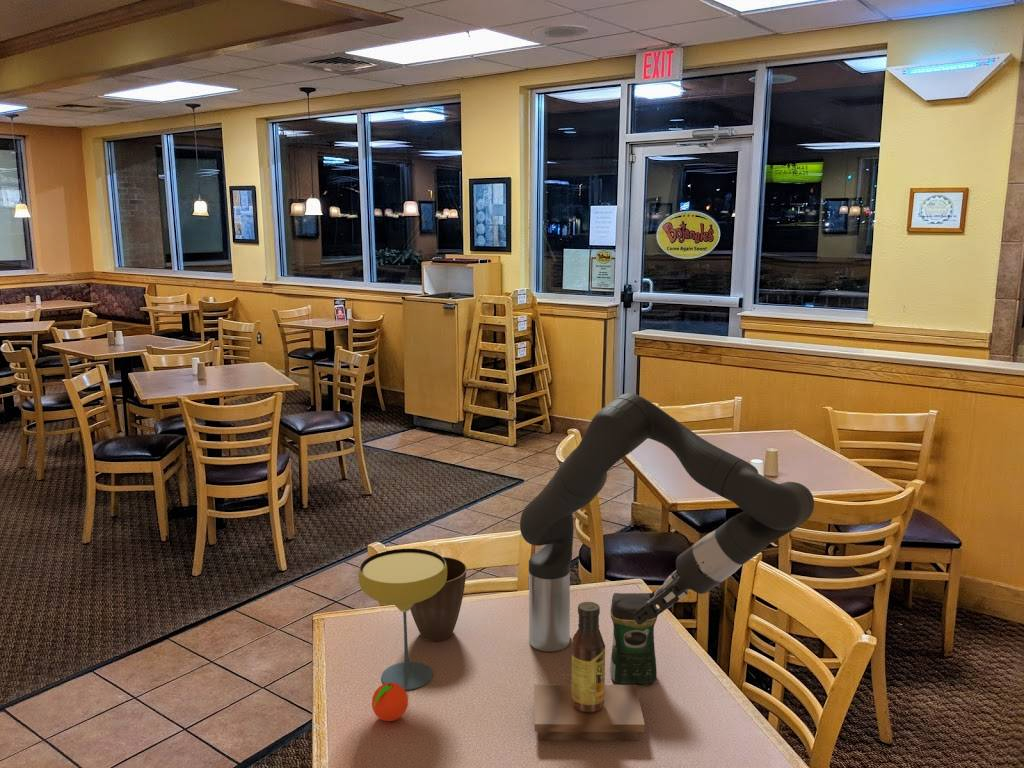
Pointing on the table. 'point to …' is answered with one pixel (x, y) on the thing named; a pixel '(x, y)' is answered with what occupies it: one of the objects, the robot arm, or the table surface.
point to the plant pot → (442, 605)
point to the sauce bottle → (588, 661)
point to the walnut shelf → (587, 715)
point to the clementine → (389, 701)
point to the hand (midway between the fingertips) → (644, 609)
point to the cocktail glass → (404, 598)
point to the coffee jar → (632, 642)
